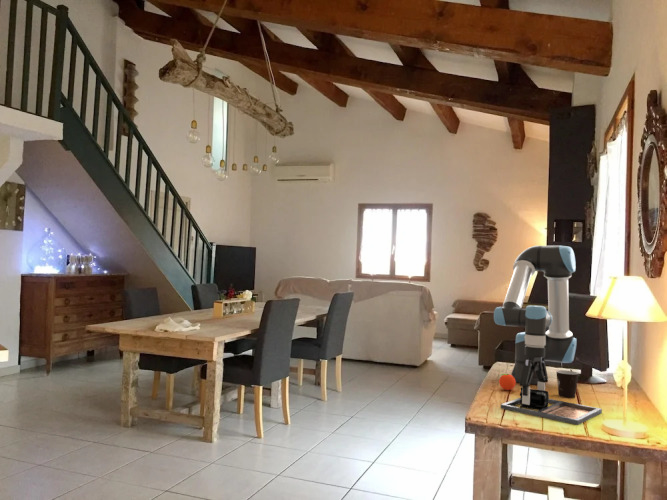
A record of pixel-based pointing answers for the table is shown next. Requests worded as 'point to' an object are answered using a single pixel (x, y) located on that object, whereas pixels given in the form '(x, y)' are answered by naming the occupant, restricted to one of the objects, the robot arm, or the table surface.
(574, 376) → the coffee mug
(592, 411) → the divided grey frame
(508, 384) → the clementine
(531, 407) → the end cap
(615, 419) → the table surface
